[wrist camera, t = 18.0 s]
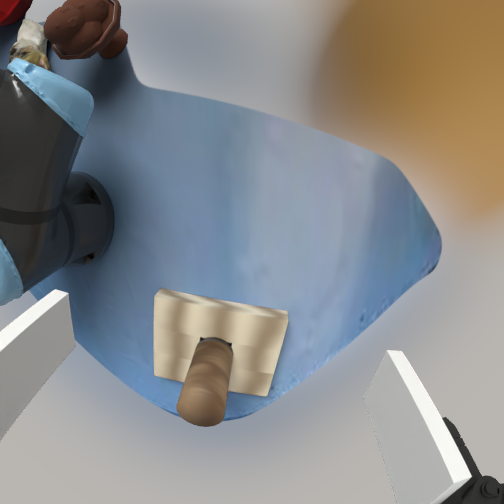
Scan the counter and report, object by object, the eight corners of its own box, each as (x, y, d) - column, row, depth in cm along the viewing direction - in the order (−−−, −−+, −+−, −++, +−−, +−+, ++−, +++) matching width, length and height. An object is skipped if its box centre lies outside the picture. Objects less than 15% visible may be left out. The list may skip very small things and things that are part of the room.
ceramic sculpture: (39, 5, 23) (25, 87, 28) (67, 18, 31) (57, 91, 36) (0, 28, 23) (-12, 104, 29) (28, 35, 31) (19, 104, 37)
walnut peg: (197, 354, 48) (176, 420, 33) (200, 325, 46) (176, 391, 31) (232, 360, 48) (221, 430, 33) (237, 332, 46) (227, 401, 31)
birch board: (159, 365, 50) (154, 375, 47) (160, 288, 45) (154, 296, 42) (266, 385, 50) (266, 396, 47) (287, 311, 45) (288, 320, 42)
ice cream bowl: (132, 74, 35) (78, 44, 21) (76, 73, 35) (17, 53, 20) (153, 15, 32) (113, -31, 18) (96, 18, 32) (47, -15, 17)
